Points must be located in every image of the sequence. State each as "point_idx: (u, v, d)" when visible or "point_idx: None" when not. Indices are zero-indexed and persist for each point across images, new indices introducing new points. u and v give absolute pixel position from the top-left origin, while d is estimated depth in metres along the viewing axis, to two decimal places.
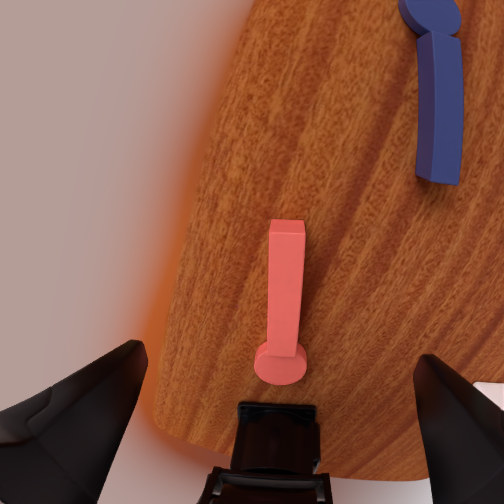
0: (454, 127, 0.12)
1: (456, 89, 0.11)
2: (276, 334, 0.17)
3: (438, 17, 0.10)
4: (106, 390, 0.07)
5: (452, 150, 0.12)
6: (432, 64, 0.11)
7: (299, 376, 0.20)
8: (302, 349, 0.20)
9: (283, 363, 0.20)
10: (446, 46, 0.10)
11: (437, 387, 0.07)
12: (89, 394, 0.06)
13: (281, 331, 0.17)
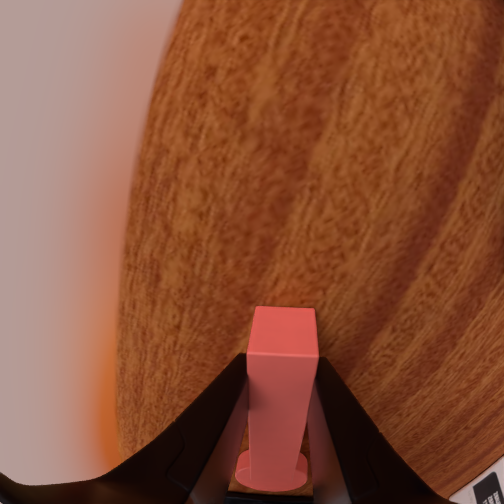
0: None
1: None
2: (264, 465, 0.10)
3: None
4: (236, 414, 0.07)
5: None
6: None
7: (297, 486, 0.12)
8: (302, 459, 0.12)
9: None
10: None
11: (315, 394, 0.07)
12: (227, 423, 0.06)
13: (271, 463, 0.10)
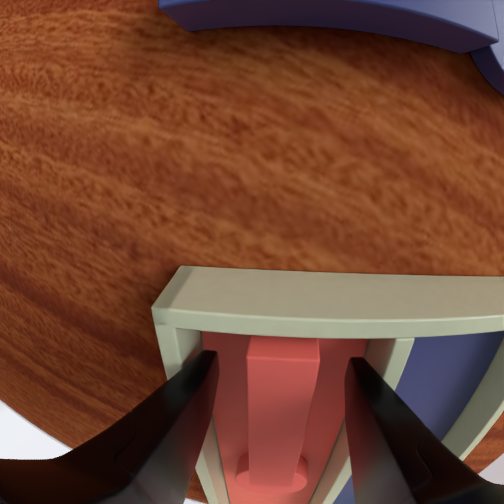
0: None
1: None
2: (263, 469, 0.09)
3: None
4: (193, 408, 0.07)
5: None
6: None
7: (297, 490, 0.12)
8: (302, 462, 0.12)
9: None
10: None
11: (358, 393, 0.07)
12: (180, 416, 0.06)
13: (270, 467, 0.09)
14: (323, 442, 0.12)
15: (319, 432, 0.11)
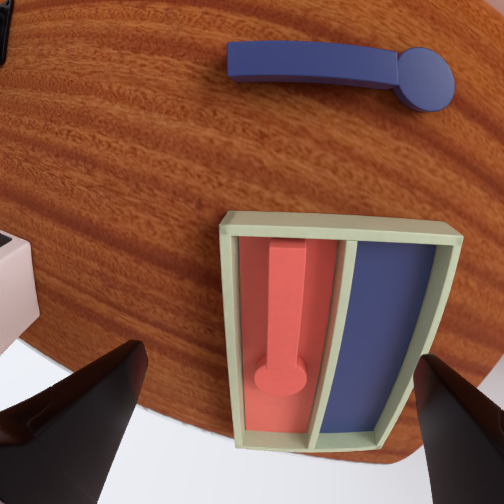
0: (292, 64, 0.12)
1: (337, 68, 0.12)
2: (276, 348, 0.17)
3: (416, 79, 0.12)
4: (106, 390, 0.07)
5: (265, 62, 0.12)
6: None
7: (299, 388, 0.20)
8: (302, 361, 0.20)
9: (283, 375, 0.19)
10: (383, 64, 0.11)
11: (437, 387, 0.07)
12: (89, 394, 0.06)
13: (281, 345, 0.17)
14: (316, 342, 0.19)
15: (312, 331, 0.19)
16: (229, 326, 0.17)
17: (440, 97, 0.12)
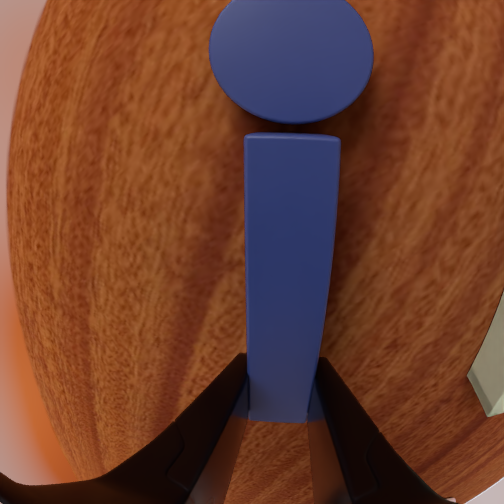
0: (296, 355, 0.07)
1: (307, 283, 0.06)
2: None
3: (299, 71, 0.06)
4: (236, 414, 0.07)
5: (290, 387, 0.08)
6: None
7: None
8: None
9: None
10: (287, 174, 0.06)
11: (315, 394, 0.07)
12: (227, 423, 0.06)
13: None
14: None
15: None
16: None
17: (332, 16, 0.05)
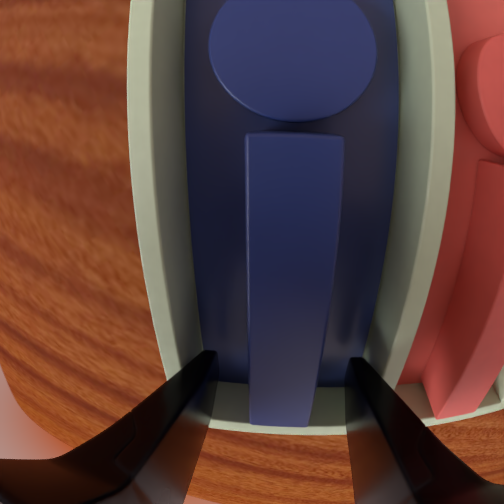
0: (298, 360, 0.07)
1: (311, 286, 0.06)
2: None
3: (302, 68, 0.05)
4: (192, 408, 0.07)
5: (292, 392, 0.07)
6: None
7: (488, 54, 0.04)
8: (473, 124, 0.06)
9: None
10: (290, 174, 0.05)
11: (358, 393, 0.07)
12: (180, 416, 0.06)
13: None
14: None
15: None
16: None
17: (334, 11, 0.05)
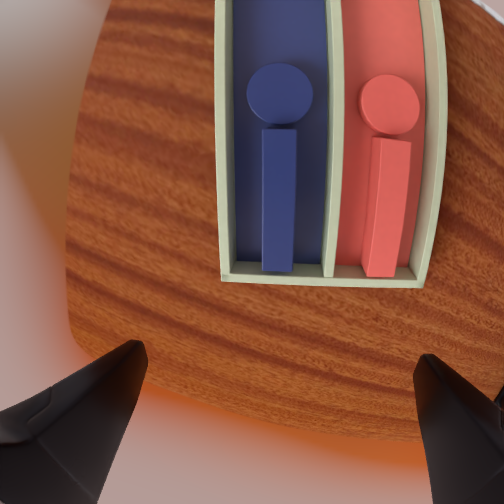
0: (284, 222, 0.17)
1: (287, 185, 0.16)
2: (400, 173, 0.15)
3: (283, 103, 0.15)
4: (106, 390, 0.07)
5: (282, 243, 0.17)
6: None
7: (368, 87, 0.14)
8: (364, 120, 0.15)
9: (388, 112, 0.14)
10: (277, 142, 0.15)
11: (437, 387, 0.07)
12: (89, 394, 0.06)
13: (395, 177, 0.15)
14: (349, 143, 0.17)
15: (353, 159, 0.17)
16: (437, 195, 0.15)
17: (296, 79, 0.14)
